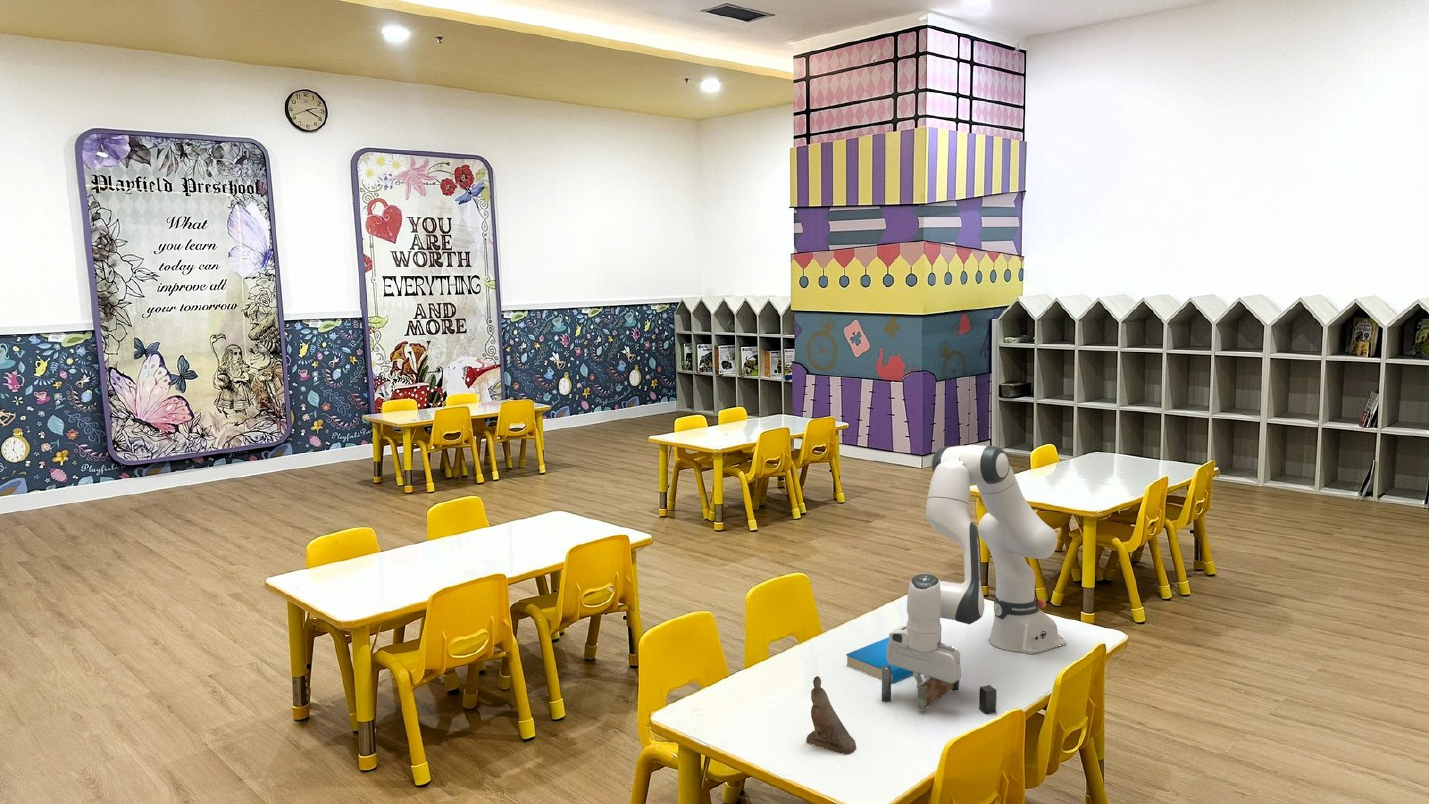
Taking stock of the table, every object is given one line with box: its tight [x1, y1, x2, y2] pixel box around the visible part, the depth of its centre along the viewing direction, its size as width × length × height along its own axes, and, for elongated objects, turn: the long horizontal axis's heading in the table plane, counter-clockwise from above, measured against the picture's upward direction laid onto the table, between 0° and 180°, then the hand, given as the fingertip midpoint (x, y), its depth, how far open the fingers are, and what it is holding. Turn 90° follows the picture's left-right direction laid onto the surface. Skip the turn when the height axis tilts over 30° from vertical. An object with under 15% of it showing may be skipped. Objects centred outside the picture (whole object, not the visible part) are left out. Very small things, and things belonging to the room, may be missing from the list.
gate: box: [917, 678, 954, 712], centre depth 252 cm, size 17×2×6 cm, turn 140°
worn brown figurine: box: [805, 676, 857, 755], centre depth 230 cm, size 12×6×18 cm, turn 52°
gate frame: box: [881, 666, 998, 715], centre depth 250 cm, size 24×17×9 cm
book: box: [845, 636, 913, 684], centre depth 277 cm, size 17×4×25 cm
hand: (922, 689), depth 251 cm, fingers closed
